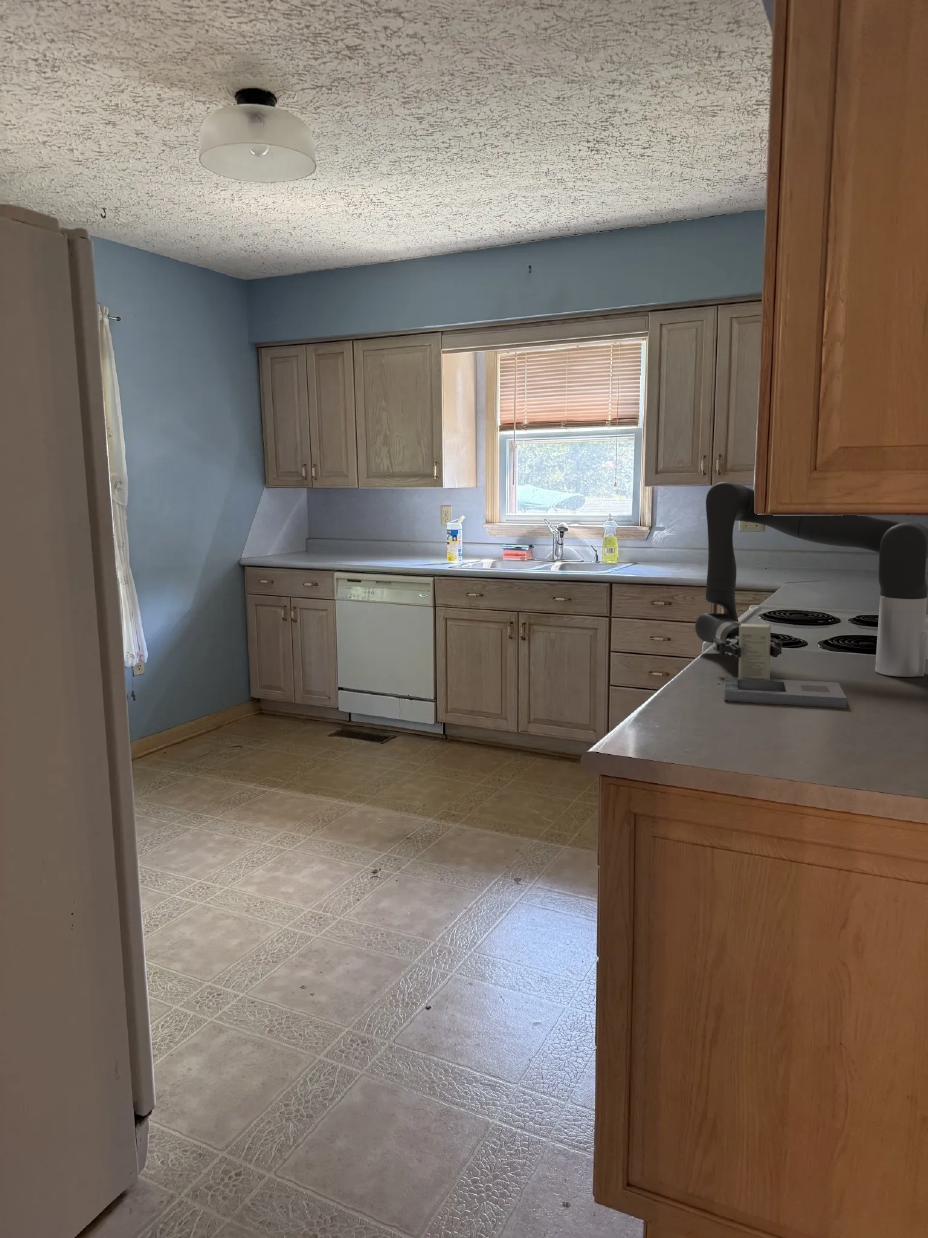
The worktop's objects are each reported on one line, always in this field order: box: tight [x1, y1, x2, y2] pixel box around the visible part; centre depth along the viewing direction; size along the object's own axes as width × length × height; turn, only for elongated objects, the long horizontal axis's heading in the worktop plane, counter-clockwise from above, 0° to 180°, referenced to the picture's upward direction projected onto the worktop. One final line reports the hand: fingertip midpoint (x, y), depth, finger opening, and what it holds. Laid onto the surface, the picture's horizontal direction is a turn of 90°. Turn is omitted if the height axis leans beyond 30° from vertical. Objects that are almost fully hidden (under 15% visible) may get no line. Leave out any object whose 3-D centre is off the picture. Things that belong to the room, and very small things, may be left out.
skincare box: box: [737, 622, 772, 679], centre depth 181 cm, size 6×4×12 cm
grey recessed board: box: [723, 676, 848, 709], centre depth 168 cm, size 22×13×2 cm, turn 73°
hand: (757, 652), depth 179 cm, fingers closed on skincare box, 7 cm apart
